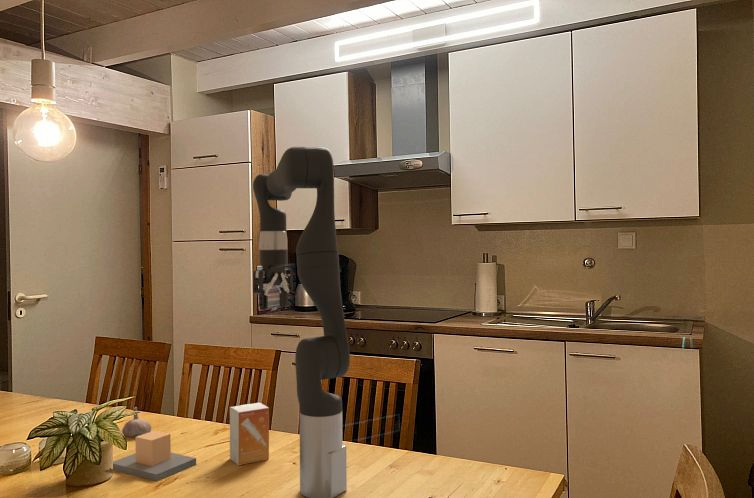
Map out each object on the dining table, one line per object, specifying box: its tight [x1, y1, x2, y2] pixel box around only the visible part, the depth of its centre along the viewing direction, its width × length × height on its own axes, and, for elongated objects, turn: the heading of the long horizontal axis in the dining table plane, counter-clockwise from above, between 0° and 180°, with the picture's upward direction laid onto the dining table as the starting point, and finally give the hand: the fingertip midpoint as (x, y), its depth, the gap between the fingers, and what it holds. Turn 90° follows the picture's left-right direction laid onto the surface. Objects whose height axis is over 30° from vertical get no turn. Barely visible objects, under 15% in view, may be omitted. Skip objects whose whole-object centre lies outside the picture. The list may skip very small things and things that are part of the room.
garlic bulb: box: [121, 406, 152, 437], centre depth 172 cm, size 8×7×8 cm
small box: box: [229, 401, 270, 466], centre depth 152 cm, size 8×6×13 cm
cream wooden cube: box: [134, 430, 172, 466], centre depth 147 cm, size 6×6×6 cm
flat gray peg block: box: [112, 452, 197, 482], centre depth 147 cm, size 16×12×6 cm
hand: (273, 308), depth 165 cm, fingers open, 8 cm apart
